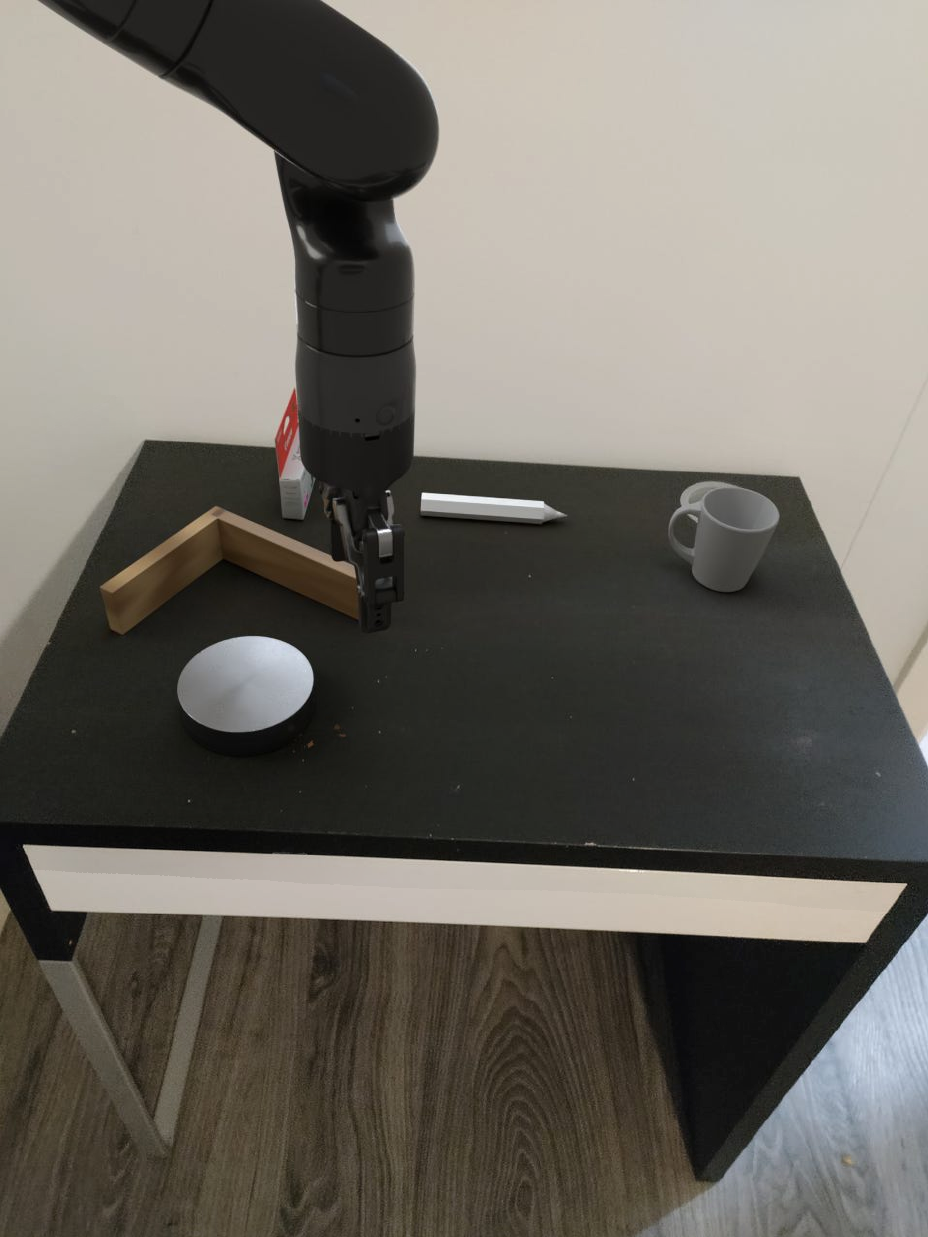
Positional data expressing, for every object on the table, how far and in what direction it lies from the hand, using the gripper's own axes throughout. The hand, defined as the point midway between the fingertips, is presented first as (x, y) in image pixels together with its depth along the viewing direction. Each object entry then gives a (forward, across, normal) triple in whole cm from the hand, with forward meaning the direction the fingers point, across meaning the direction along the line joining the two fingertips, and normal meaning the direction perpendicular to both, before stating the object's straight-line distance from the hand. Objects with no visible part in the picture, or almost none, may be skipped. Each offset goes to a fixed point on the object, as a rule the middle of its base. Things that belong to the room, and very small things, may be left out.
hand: (359, 592), depth 70 cm
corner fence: (+13, -14, -7) cm, 21 cm away
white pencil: (+14, -23, +21) cm, 34 cm away
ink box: (+14, -34, +2) cm, 36 cm away
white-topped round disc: (+13, -3, -9) cm, 16 cm away
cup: (+14, -8, +39) cm, 42 cm away
